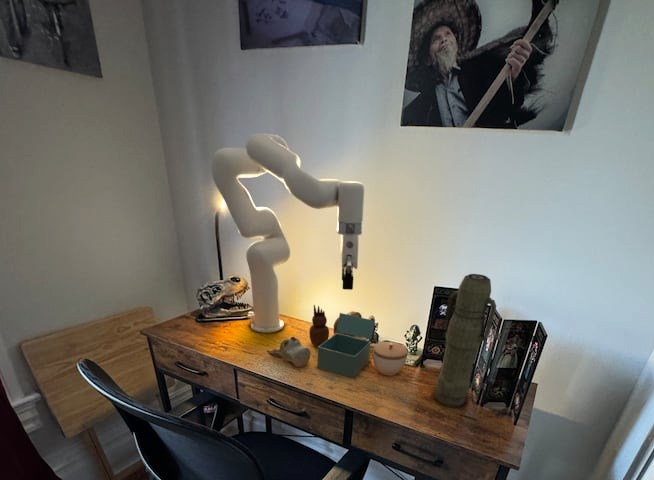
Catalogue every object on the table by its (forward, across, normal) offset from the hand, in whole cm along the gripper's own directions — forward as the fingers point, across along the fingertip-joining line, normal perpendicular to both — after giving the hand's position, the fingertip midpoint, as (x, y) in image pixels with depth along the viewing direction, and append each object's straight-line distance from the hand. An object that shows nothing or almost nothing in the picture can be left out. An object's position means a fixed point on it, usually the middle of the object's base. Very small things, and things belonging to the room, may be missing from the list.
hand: (347, 284), depth 122 cm
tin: (+23, +11, -2) cm, 25 cm away
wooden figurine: (+23, +1, +9) cm, 24 cm away
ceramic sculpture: (+23, -11, +17) cm, 30 cm away
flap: (+12, -6, -3) cm, 14 cm away
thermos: (+23, -31, -30) cm, 49 cm away
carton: (+23, -13, 0) cm, 26 cm away
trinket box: (+23, -16, -14) cm, 31 cm away
